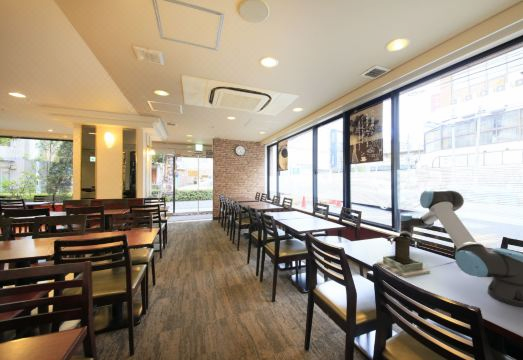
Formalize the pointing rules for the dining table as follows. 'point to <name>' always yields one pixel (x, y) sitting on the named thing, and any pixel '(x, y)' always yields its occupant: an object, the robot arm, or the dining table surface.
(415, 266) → the collar board
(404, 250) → the container
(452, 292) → the dining table surface
